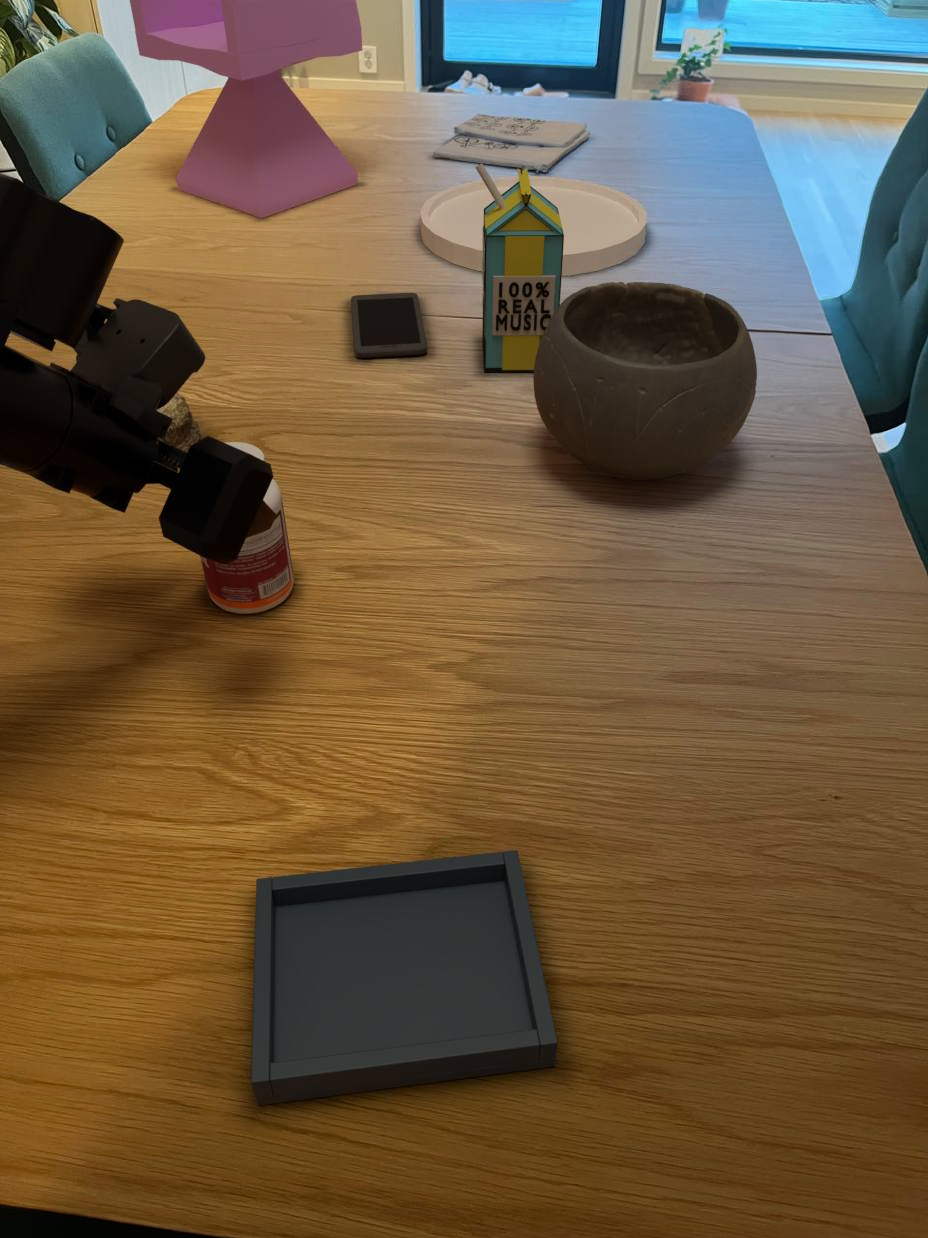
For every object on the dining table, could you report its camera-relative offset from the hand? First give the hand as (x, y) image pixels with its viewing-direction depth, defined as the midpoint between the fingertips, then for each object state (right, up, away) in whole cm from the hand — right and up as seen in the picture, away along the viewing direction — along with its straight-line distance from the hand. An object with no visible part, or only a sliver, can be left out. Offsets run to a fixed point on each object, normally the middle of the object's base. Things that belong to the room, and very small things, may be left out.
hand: (221, 497), depth 67 cm
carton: (+21, +18, +34) cm, 44 cm away
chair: (-11, +52, +73) cm, 90 cm away
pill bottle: (+1, -6, +6) cm, 9 cm away
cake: (-12, +7, +22) cm, 26 cm away
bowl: (+31, +6, +20) cm, 37 cm away
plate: (+25, +40, +60) cm, 76 cm away
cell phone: (+8, +22, +39) cm, 46 cm away
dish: (+13, -26, -17) cm, 34 cm away
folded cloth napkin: (+23, +63, +87) cm, 110 cm away
